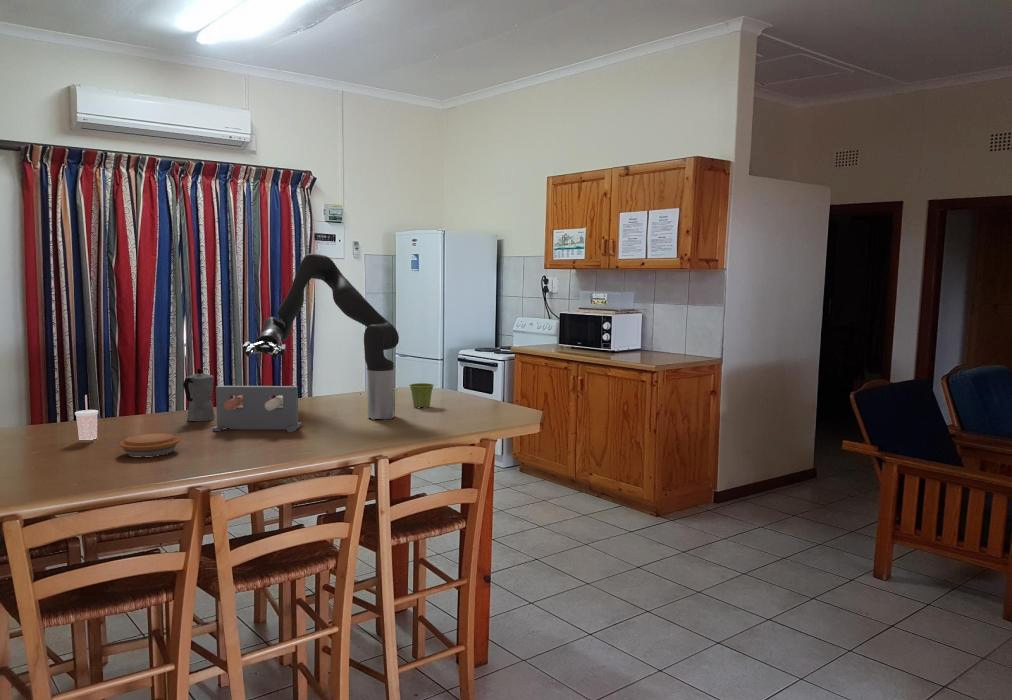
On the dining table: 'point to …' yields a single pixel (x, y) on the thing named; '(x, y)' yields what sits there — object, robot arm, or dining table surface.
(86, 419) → the beverage cup
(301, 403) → the dining table surface
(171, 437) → the pie
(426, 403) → the plant pot
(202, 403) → the coffeepot
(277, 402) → the beige lever
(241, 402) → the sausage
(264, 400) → the panel
